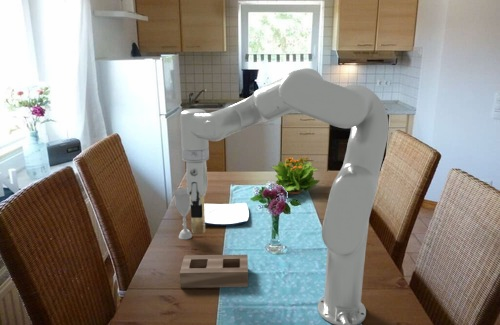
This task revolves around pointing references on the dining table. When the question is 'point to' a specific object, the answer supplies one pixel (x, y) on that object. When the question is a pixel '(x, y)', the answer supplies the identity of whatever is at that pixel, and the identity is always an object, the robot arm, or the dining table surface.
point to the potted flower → (295, 175)
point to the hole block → (214, 271)
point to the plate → (226, 214)
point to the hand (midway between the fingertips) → (197, 213)
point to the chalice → (183, 209)
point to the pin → (198, 220)
